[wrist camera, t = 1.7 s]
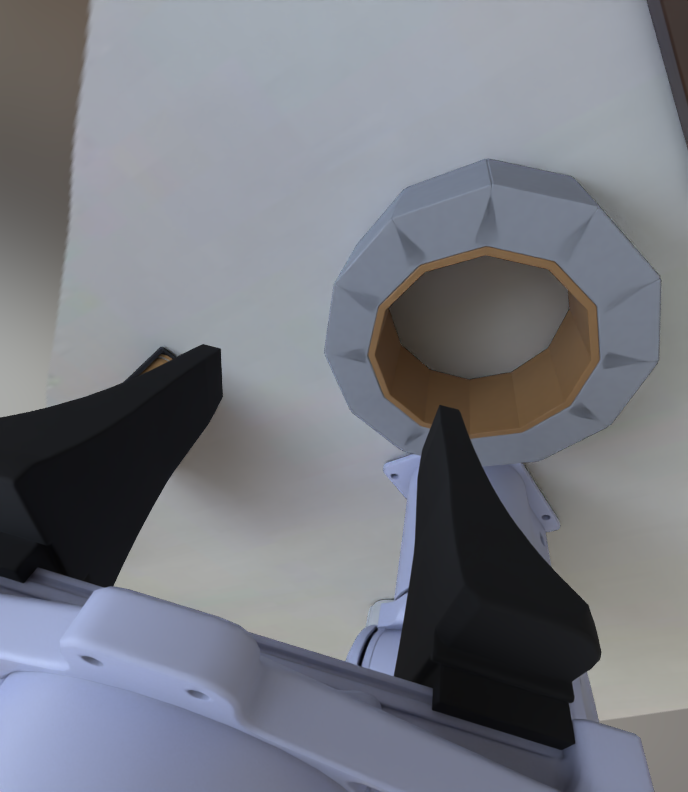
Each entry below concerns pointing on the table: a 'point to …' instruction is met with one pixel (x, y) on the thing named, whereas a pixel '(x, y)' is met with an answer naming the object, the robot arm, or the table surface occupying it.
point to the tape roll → (515, 241)
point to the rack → (674, 49)
